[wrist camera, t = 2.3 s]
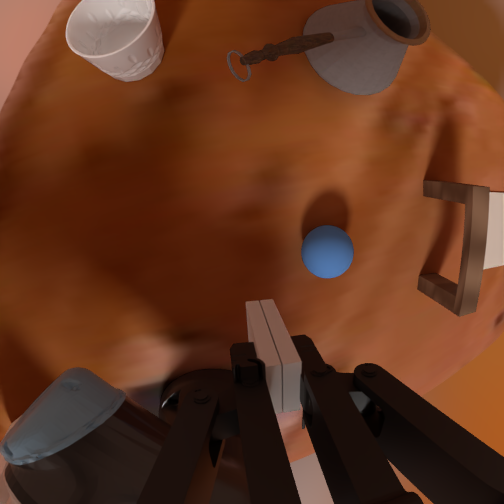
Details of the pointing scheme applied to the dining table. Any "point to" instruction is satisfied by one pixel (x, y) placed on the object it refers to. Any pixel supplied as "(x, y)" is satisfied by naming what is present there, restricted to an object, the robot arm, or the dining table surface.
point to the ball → (327, 251)
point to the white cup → (117, 36)
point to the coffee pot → (353, 43)
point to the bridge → (473, 251)
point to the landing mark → (495, 231)
